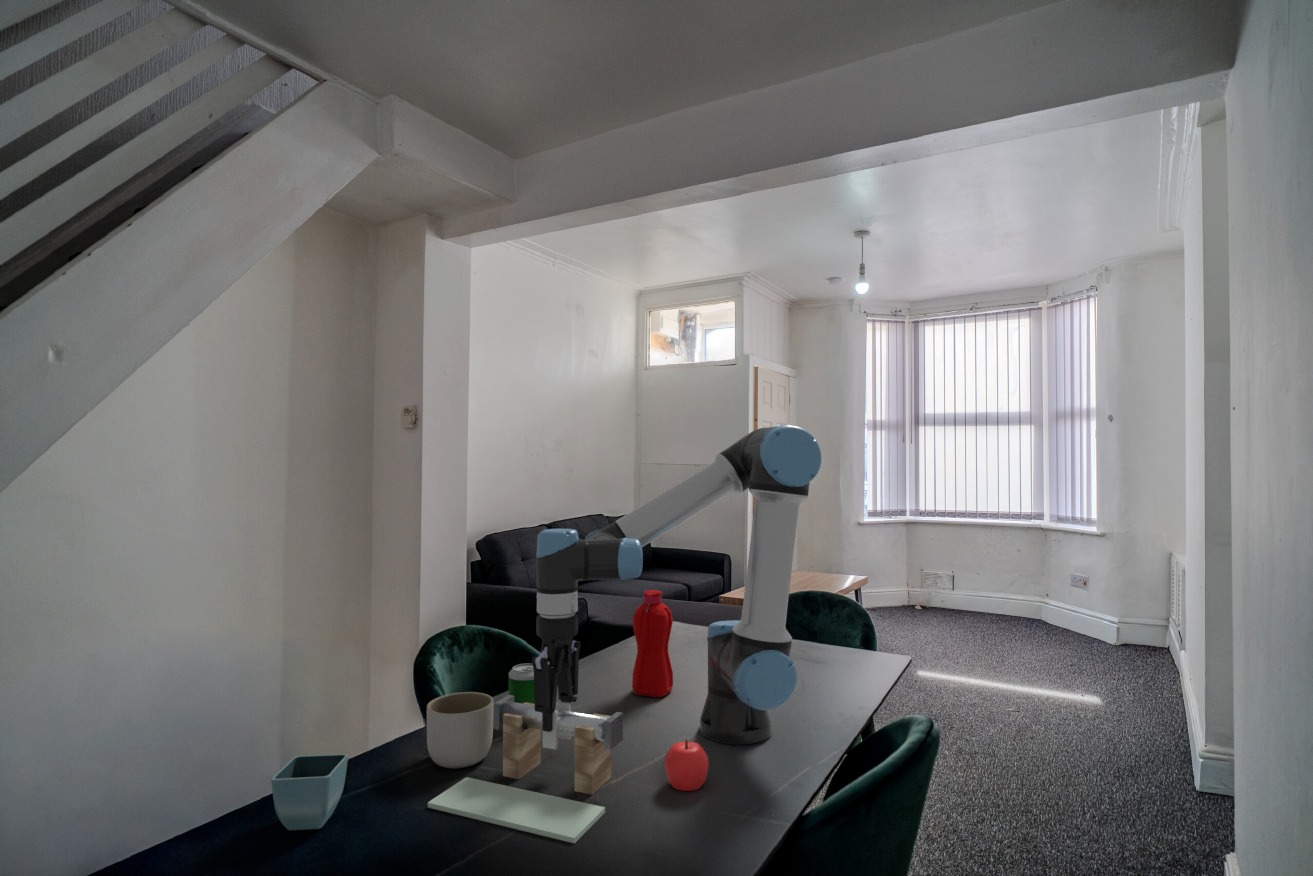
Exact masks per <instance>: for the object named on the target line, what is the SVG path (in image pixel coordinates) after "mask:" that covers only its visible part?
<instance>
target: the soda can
mask: <svg viewBox="0 0 1313 876" xmlns="http://www.w3.org/2000/svg"><path fill="white" fill-rule="evenodd" d="M508 695H512V696H514V702H515V703H522V704H523V703H525V702H526V703H532V704H534V669H533V665H532V663H519V664H516V665H514V666H512V668H511V670H510V671H509V672H508Z"/></svg>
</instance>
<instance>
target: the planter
mask: <svg viewBox="0 0 1313 876" xmlns="http://www.w3.org/2000/svg"><path fill="white" fill-rule="evenodd" d="M494 703H495V702H494V698H493V696H491V695H489V694H487V693H483V692H476V691H464V692H463V691H461V692H453V693H449V694H448V693H447V694H444V695H441V696H438V697H435V698H434V699H432V700H430V701H429V702H428V703H427V704H426V745H427V746H426V747H427V750H428V754H429V756H430V758H431V760H432V761H433V762H434V763H435V764H436V765H438V766H439V767H441V768H446V769H463V768H467V767H471V766H473V765H476V764H478V763H479V762H481V761H482V760H483V759H484V758H486V756H487V755H488V754H489V752H490V749H491V746H492V744H493V735H494V734H493V733H494Z"/></svg>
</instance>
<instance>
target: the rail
mask: <svg viewBox="0 0 1313 876" xmlns="http://www.w3.org/2000/svg"><path fill="white" fill-rule="evenodd" d="M555 711H558V734H564V735H570V736H571V737H575V727H576V726H577V725H579V726H585V727H591V728H595V740H598V741H604V742H605V749H606V750H611V751H612V750H613V749H614V748H615V747H616V746H617V745H619V744H620V743H622V741H623V740H624V726H623V725H624V713H623V712H621V711H616V712H615V713H613V714H612V715H610V716H611V717H603V716H597V715H593V714H591V713H589V714H588V713H582V712H578V711H572V710H571V711H565V710H559V709H556V708H555ZM506 713H508V714H514V715H520V716H522V727H524V728H530V729H536V730H541V732H543V729H542V712H537V711H535V709H534V705H528V704H522V703H515V702H514V696H512V695H509V694H507V695H506V696H504V697H503V698H500V699H499V700H496V701H495V702H494V708H493V730H495V731H496V730H497V731H500V730H503V715H504V714H506Z"/></svg>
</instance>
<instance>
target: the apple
mask: <svg viewBox="0 0 1313 876" xmlns="http://www.w3.org/2000/svg"><path fill="white" fill-rule="evenodd" d="M663 764H664V769H665V774H666V780H667V781H668V783H669V784H670V785H671V786H672V787H673V788H674V789H675V790H677V791H682V792H690V791H691V792H692V791H697V790H698V789H700V788H701V787H702V785H704V783H706V781H707V775H708V772H709V766H710V762H709V757H708V755H707V753H706V750H704V748H703V746H701V745H700V744H699V743H698V742H693V741H689V740H688V739H685V741H679V742H674V744H673V745H671V746H670V748H669V749H668V751H667V752H666V753H665V755H664V762H663Z"/></svg>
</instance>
